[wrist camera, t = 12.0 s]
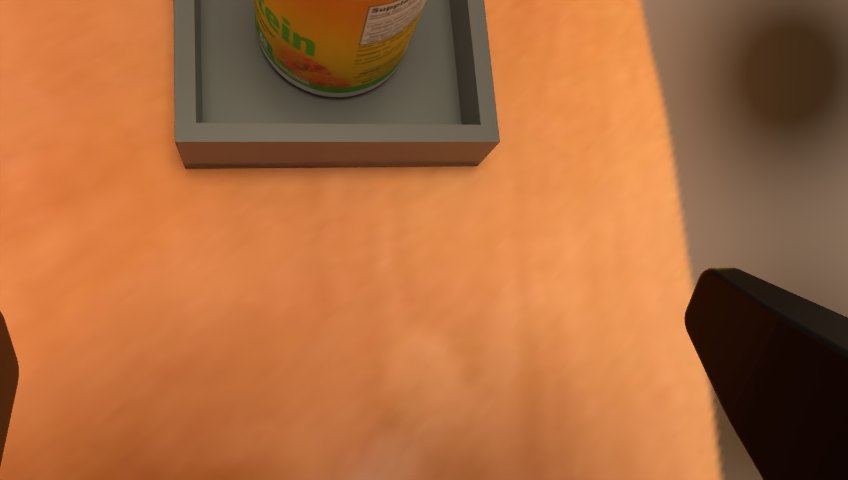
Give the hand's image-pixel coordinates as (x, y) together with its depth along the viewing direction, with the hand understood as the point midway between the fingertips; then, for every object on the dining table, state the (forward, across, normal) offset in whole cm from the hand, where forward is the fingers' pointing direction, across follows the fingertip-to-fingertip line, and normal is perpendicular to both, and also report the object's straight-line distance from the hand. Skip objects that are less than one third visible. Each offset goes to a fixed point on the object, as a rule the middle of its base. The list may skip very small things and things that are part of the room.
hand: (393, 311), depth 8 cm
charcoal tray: (+18, -1, +1) cm, 18 cm away
